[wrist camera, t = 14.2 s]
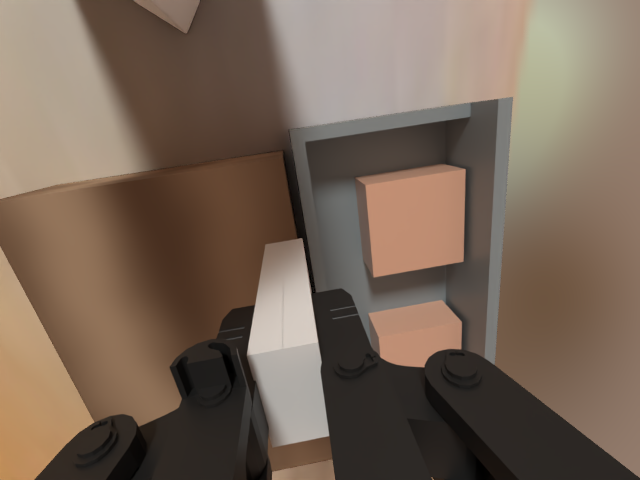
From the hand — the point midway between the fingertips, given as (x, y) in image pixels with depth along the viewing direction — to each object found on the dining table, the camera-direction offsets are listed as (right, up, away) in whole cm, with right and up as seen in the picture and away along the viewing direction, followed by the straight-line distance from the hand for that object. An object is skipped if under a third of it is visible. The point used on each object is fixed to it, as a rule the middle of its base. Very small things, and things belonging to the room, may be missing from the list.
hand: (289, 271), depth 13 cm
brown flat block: (-5, -3, +7) cm, 9 cm away
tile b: (+6, +2, +3) cm, 7 cm away
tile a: (+7, -6, +6) cm, 12 cm away
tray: (+5, -1, +7) cm, 9 cm away
